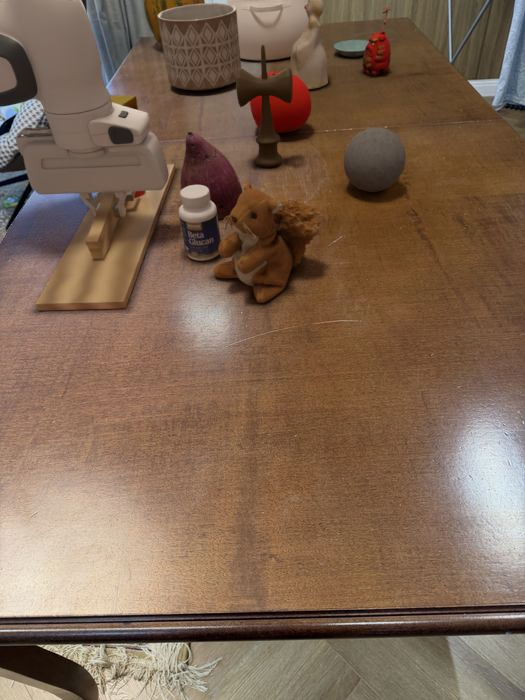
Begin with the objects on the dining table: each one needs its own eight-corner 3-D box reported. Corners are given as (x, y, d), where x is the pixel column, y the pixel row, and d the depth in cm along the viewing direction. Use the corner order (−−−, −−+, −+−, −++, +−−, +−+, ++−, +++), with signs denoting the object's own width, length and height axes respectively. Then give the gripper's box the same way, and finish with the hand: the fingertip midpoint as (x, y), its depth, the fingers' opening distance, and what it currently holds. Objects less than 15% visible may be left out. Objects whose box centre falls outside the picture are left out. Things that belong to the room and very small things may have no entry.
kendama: (245, 157, 99) (235, 41, 85) (294, 156, 98) (292, 38, 84) (242, 171, 95) (231, 51, 81) (293, 169, 94) (291, 47, 80)
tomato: (295, 115, 114) (294, 59, 106) (319, 137, 104) (320, 76, 96) (243, 125, 111) (238, 68, 103) (263, 148, 102) (259, 86, 94)
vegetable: (210, 243, 83) (183, 169, 70) (175, 213, 88) (144, 140, 75) (258, 207, 85) (240, 130, 73) (222, 181, 90) (199, 104, 78)
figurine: (286, 78, 134) (284, -14, 120) (325, 75, 134) (327, -17, 120) (289, 92, 125) (287, -5, 112) (331, 89, 125) (334, -8, 111)
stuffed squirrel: (208, 277, 71) (194, 189, 62) (286, 240, 76) (283, 155, 67) (250, 311, 65) (241, 219, 56) (331, 269, 70) (335, 179, 61)
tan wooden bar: (115, 258, 73) (108, 241, 71) (82, 259, 74) (74, 242, 71) (138, 185, 85) (133, 167, 82) (109, 186, 85) (104, 169, 83)
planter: (255, 76, 137) (250, 4, 125) (218, 99, 125) (209, 22, 113) (195, 71, 144) (186, 2, 132) (155, 92, 132) (141, 18, 120)
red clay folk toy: (356, 71, 134) (361, 4, 124) (379, 66, 136) (385, 0, 126) (372, 78, 129) (378, 9, 119) (395, 73, 131) (403, 5, 121)
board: (38, 310, 68) (35, 303, 67) (114, 172, 98) (113, 166, 97) (125, 308, 67) (123, 301, 66) (175, 169, 97) (174, 163, 96)
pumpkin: (141, 53, 161) (121, -45, 144) (171, 38, 174) (156, -54, 156) (191, 56, 155) (177, -46, 138) (219, 40, 168) (209, -56, 150)
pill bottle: (189, 265, 73) (178, 203, 66) (183, 246, 77) (171, 186, 70) (225, 257, 74) (217, 195, 67) (217, 239, 78) (209, 179, 71)
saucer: (381, 56, 143) (381, 47, 142) (342, 61, 142) (342, 52, 140) (364, 46, 152) (364, 37, 150) (327, 51, 150) (327, 43, 148)
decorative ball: (413, 191, 85) (423, 131, 78) (366, 208, 82) (371, 147, 75) (376, 170, 91) (381, 113, 84) (330, 185, 88) (332, 127, 81)
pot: (228, 42, 165) (222, -19, 153) (309, 37, 164) (309, -26, 152) (222, 68, 144) (215, -1, 133) (315, 61, 143) (315, -8, 132)
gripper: (1, 137, 68) (39, 228, 77) (151, 130, 66) (170, 224, 76) (19, 120, 72) (53, 208, 82) (160, 113, 71) (177, 203, 80)
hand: (110, 215), depth 79 cm, fingers closed on tan wooden bar, 2 cm apart
